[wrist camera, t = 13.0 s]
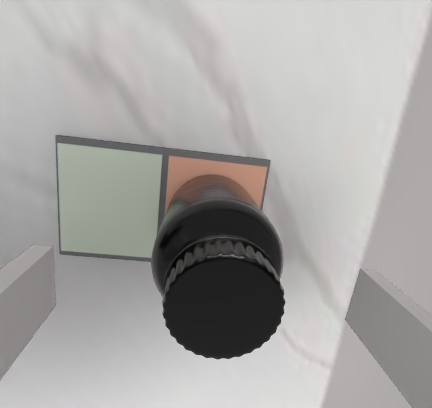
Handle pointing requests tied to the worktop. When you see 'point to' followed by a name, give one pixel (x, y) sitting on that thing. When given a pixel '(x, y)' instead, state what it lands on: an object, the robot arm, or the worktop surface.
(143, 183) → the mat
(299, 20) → the worktop surface
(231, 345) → the supplement bottle
